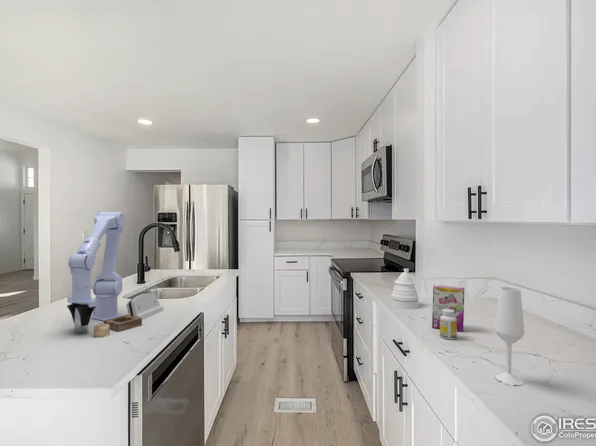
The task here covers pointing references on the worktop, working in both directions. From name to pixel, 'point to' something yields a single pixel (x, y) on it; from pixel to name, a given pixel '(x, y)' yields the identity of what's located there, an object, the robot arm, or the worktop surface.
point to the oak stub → (101, 330)
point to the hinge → (144, 306)
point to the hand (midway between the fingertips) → (81, 324)
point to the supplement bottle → (448, 324)
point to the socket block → (123, 322)
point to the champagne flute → (509, 326)
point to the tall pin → (79, 324)
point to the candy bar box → (448, 304)
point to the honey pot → (404, 292)
